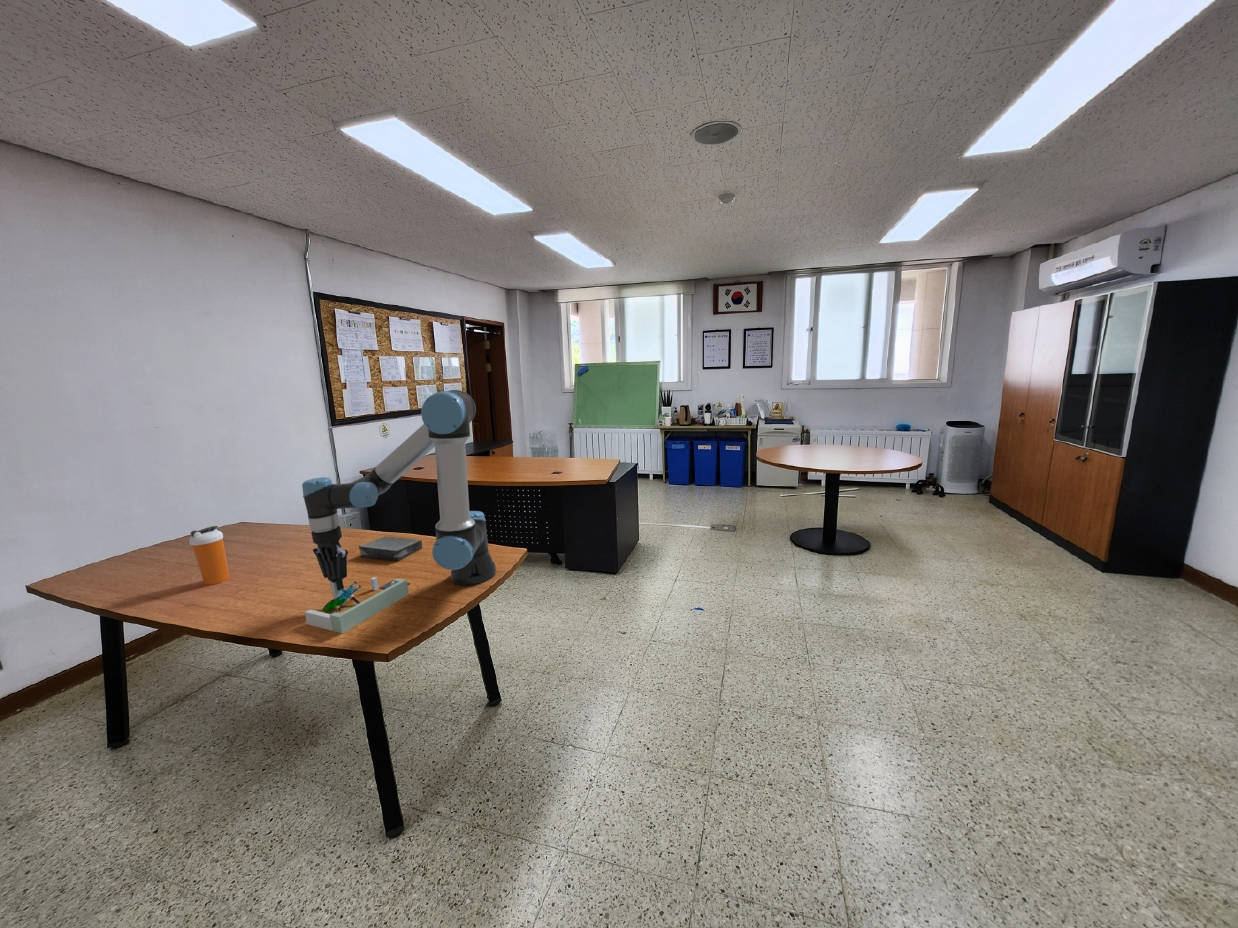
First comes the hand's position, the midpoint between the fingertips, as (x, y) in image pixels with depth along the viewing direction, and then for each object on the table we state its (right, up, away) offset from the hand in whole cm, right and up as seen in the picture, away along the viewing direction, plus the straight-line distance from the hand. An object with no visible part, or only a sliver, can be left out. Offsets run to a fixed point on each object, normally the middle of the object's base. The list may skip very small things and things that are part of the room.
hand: (339, 598), depth 139 cm
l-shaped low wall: (+7, -2, -2) cm, 7 cm away
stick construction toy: (+3, -2, -1) cm, 4 cm away
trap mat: (+12, +1, +11) cm, 16 cm away
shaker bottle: (-59, 0, +22) cm, 63 cm away
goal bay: (+14, -2, -5) cm, 15 cm away
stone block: (-4, +6, +41) cm, 41 cm away
